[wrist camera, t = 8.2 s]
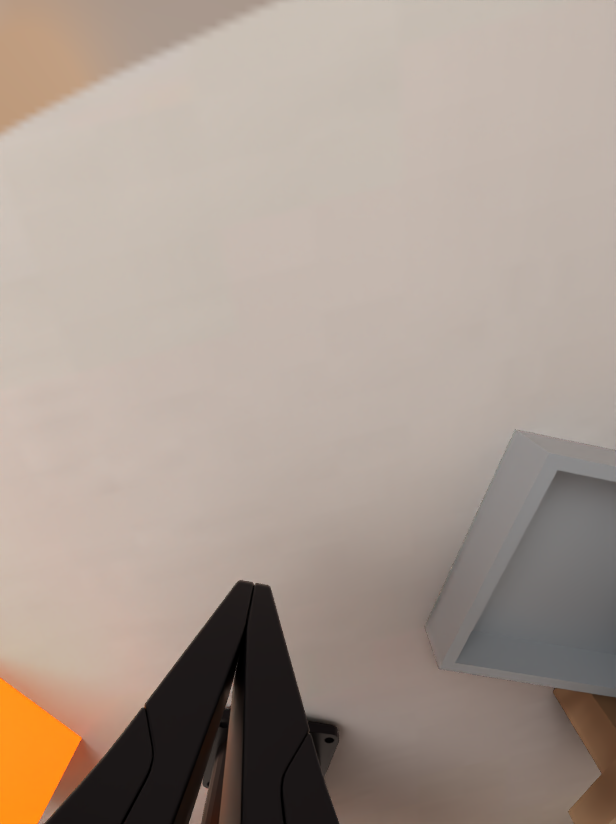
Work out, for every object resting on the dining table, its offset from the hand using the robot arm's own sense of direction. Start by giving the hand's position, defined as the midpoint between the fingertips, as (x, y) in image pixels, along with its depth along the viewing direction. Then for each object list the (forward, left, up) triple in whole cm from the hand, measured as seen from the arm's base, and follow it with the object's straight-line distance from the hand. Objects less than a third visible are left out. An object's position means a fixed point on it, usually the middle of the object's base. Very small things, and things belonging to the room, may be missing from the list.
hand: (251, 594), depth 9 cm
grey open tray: (0, -15, -5) cm, 16 cm away
